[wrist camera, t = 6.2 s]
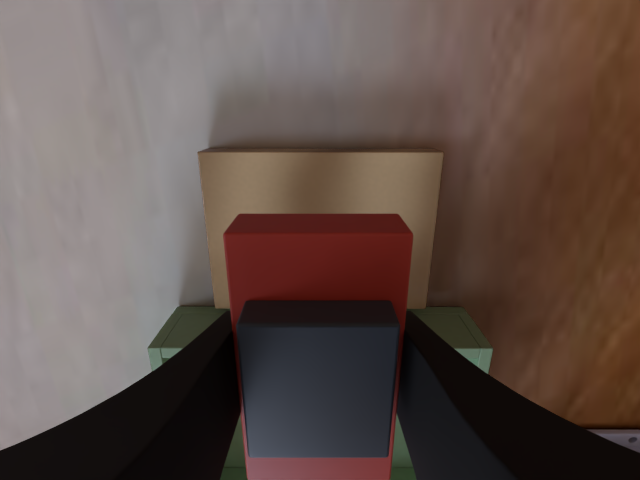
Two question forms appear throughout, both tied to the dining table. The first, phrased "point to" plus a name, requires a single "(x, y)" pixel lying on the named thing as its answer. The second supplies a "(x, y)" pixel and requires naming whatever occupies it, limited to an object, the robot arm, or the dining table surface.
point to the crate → (460, 336)
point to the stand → (322, 195)
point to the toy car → (318, 341)
